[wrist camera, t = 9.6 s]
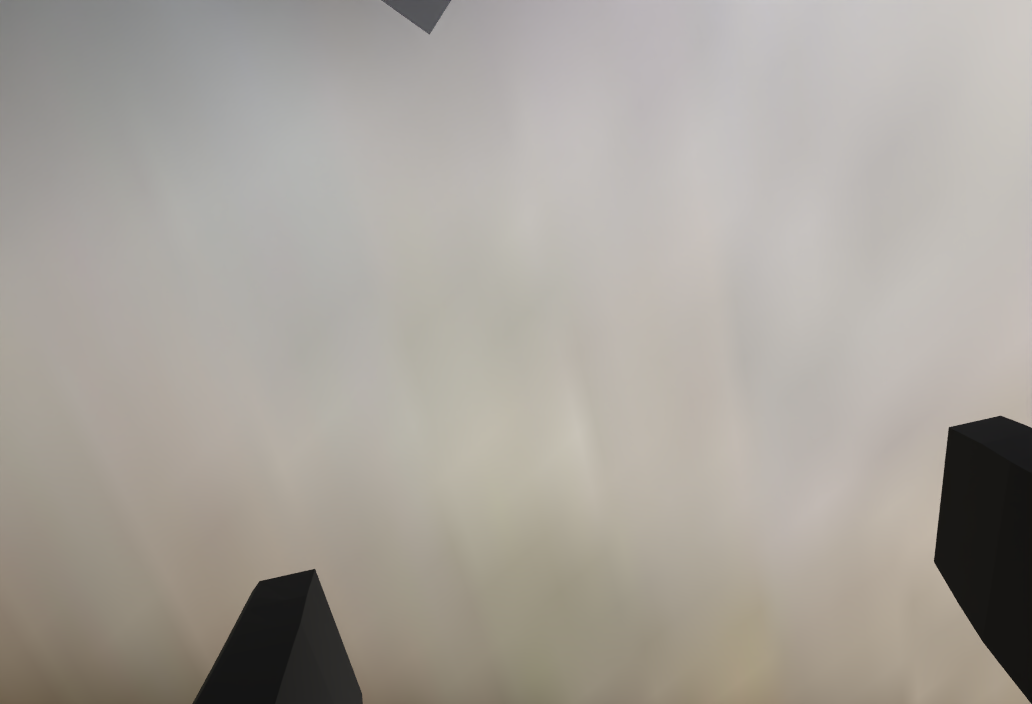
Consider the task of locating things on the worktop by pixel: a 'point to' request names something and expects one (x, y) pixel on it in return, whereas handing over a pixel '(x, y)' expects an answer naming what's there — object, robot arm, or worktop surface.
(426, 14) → the grey square dish
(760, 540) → the worktop surface
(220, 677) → the robot arm
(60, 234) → the worktop surface
